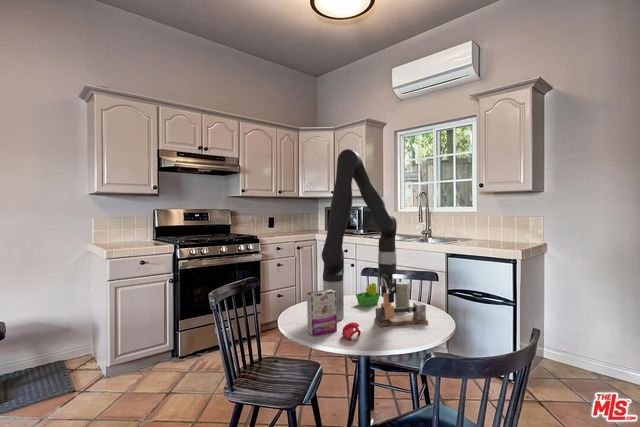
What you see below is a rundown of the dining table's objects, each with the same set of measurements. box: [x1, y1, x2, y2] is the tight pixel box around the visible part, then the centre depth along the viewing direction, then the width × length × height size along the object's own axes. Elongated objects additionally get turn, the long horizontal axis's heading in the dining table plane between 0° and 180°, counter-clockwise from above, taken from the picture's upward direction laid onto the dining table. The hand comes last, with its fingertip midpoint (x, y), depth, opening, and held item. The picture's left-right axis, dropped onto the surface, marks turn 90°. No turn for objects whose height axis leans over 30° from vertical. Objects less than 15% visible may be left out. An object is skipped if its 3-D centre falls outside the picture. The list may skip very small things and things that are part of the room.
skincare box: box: [394, 281, 410, 308], centre depth 173 cm, size 6×4×12 cm
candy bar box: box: [306, 289, 338, 337], centre depth 142 cm, size 11×5×16 cm, turn 117°
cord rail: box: [373, 301, 429, 329], centre depth 152 cm, size 21×8×8 cm, turn 100°
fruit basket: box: [355, 282, 381, 307], centre depth 179 cm, size 11×9×11 cm
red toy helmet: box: [341, 322, 362, 341], centre depth 136 cm, size 8×6×6 cm
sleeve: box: [380, 292, 395, 319], centre depth 151 cm, size 4×5×10 cm
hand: (387, 299), depth 150 cm, fingers open, 8 cm apart
